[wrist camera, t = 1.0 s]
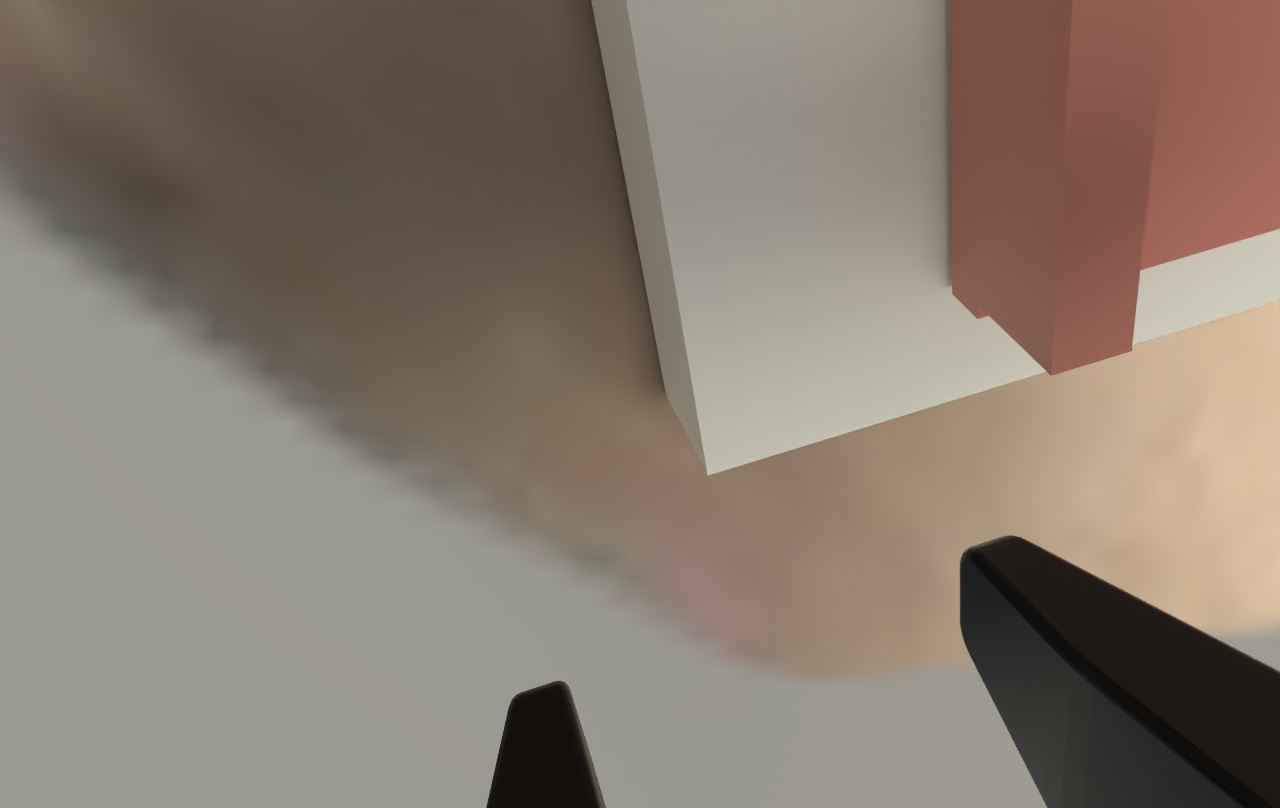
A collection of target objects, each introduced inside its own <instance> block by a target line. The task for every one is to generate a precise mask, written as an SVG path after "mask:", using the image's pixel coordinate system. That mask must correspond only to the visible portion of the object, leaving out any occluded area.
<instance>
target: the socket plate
mask: <svg viewBox="0 0 1280 808" xmlns="http://www.w3.org/2000/svg"><path fill="white" fill-rule="evenodd" d="M591 2H592V8H593V13H594V18H595V23H596V29H597V34H598V39H599V45H600V50H601V55H602V60H603V66H604V71H605V76H606V81H607V87H608V92H609V97H610V103H611V108H612V113H613V118H614V124H615V129H616V134H617V139H618V145H619V150H620V155H621V160H622V166H623V171H624V176H625V182H626V187H627V192H628V197H629V203H630V208H631V213H632V218H633V224H634V229H635V234H636V240H637V245H638V250H639V255H640V261H641V266H642V271H643V276H644V282H645V287H646V292H647V298H648V303H649V308H650V313H651V319H652V324H653V329H654V334H655V340H656V345H657V350H658V355H659V361H660V366H661V371H662V377H663V382H664V387H665V392H666V395H667V397H668V399H669V401H670V403H671V405H672V407H673V409H674V411H675V413H676V415H677V417H678V419H679V421H680V422H681V424H682V426H683V428H684V430H685V432H686V434H687V436H688V438H689V440H690V442H691V444H692V446H693V448H694V450H695V452H696V454H697V456H698V457H699V459H700V461H701V463H702V465H703V467H704V469H705V471H706V473H707V475H711V474H715V473H718V472H721V471H724V470H728V469H731V468H734V467H737V466H741V465H744V464H747V463H750V462H754V461H757V460H760V459H764V458H767V457H770V456H773V455H777V454H780V453H783V452H786V451H790V450H793V449H796V448H799V447H803V446H806V445H809V444H812V443H816V442H819V441H822V440H825V439H829V438H832V437H835V436H838V435H842V434H845V433H848V432H851V431H855V430H858V429H861V428H864V427H868V426H871V425H874V424H878V423H881V422H884V421H887V420H891V419H894V418H897V417H900V416H904V415H907V414H910V413H913V412H917V411H920V410H923V409H926V408H930V407H933V406H936V405H939V404H943V403H946V402H949V401H952V400H956V399H959V398H962V397H965V396H969V395H972V394H975V393H979V392H982V391H985V390H988V389H992V388H995V387H998V386H1001V385H1005V384H1008V383H1011V382H1014V381H1018V380H1021V379H1024V378H1027V377H1031V376H1034V375H1037V374H1040V373H1044V372H1047V371H1046V370H1045V369H1044V368H1043V367H1041V366H1040V365H1039V364H1038V363H1037V362H1036V361H1035V360H1034V359H1033V358H1032V357H1031V356H1030V355H1029V354H1028V353H1027V352H1026V351H1025V350H1024V349H1023V348H1022V347H1021V346H1020V345H1019V344H1018V343H1017V342H1016V341H1014V340H1013V339H1012V338H1011V337H1010V336H1009V335H1008V334H1007V333H1006V332H1005V331H1004V330H1003V329H1002V328H1001V327H1000V326H999V325H998V324H997V323H996V322H995V321H994V320H993V319H992V318H991V317H990V316H986V317H983V318H980V319H977V318H976V317H975V316H974V315H973V314H972V313H971V312H970V311H969V310H968V309H967V308H966V307H965V306H964V305H963V304H962V303H961V302H960V301H959V300H958V299H957V298H956V297H955V296H954V295H952V163H951V0H591ZM1278 300H1280V229H1277V230H1274V231H1271V232H1267V233H1264V234H1261V235H1257V236H1254V237H1251V238H1247V239H1244V240H1241V241H1237V242H1234V243H1231V244H1227V245H1224V246H1221V247H1217V248H1214V249H1211V250H1207V251H1204V252H1200V253H1197V254H1194V255H1190V256H1187V257H1184V258H1180V259H1177V260H1174V261H1170V262H1167V263H1164V264H1160V265H1157V266H1154V267H1150V268H1147V269H1144V270H1140V278H1139V288H1138V297H1137V306H1136V316H1135V325H1134V334H1133V344H1132V345H1135V344H1138V343H1141V342H1145V341H1148V340H1151V339H1154V338H1158V337H1161V336H1164V335H1167V334H1171V333H1174V332H1177V331H1180V330H1184V329H1187V328H1190V327H1194V326H1197V325H1200V324H1203V323H1207V322H1210V321H1213V320H1216V319H1220V318H1223V317H1226V316H1229V315H1233V314H1236V313H1239V312H1242V311H1246V310H1249V309H1252V308H1255V307H1259V306H1262V305H1265V304H1268V303H1272V302H1275V301H1278Z"/></svg>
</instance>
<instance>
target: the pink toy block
mask: <svg viewBox="0 0 1280 808" xmlns="http://www.w3.org/2000/svg"><path fill="white" fill-rule="evenodd" d="M951 163H952V295H954V296H955V297H956V298H957V299H958V300H959V301H960V302H961V303H962V304H963V305H964V306H965V307H966V308H967V309H968V310H969V311H970V312H971V313H972V314H973V315H974V316H975V317H976V318H977V319H980V318H983V317H986V316H990V317H991V318H992V319H993V320H994V321H995V322H996V323H997V324H998V325H999V326H1000V327H1001V328H1002V329H1003V330H1004V331H1005V332H1006V333H1007V334H1008V335H1009V336H1010V337H1011V338H1012V339H1013V340H1014V341H1016V342H1017V343H1018V344H1019V345H1020V346H1021V347H1022V348H1023V349H1024V350H1025V351H1026V352H1027V353H1028V354H1029V355H1030V356H1031V357H1032V358H1033V359H1034V360H1035V361H1036V362H1037V363H1038V364H1039V365H1040V366H1041V367H1043V368H1044V369H1045V370H1046V371H1047V372H1048V373H1049V374H1050V375H1055V374H1058V373H1061V372H1065V371H1068V370H1071V369H1074V368H1078V367H1081V366H1084V365H1087V364H1091V363H1094V362H1097V361H1100V360H1104V359H1107V358H1110V357H1113V356H1117V355H1120V354H1123V353H1126V352H1130V351H1132V344H1133V334H1134V325H1135V316H1136V306H1137V297H1138V288H1139V278H1140V270H1144V269H1147V268H1150V267H1154V266H1157V265H1160V264H1164V263H1167V262H1170V261H1174V260H1177V259H1180V258H1184V257H1187V256H1190V255H1194V254H1197V253H1200V252H1204V251H1207V250H1211V249H1214V248H1217V247H1221V246H1224V245H1227V244H1231V243H1234V242H1237V241H1241V240H1244V239H1247V238H1251V237H1254V236H1257V235H1261V234H1264V233H1267V232H1271V231H1274V230H1277V229H1280V0H951Z"/></svg>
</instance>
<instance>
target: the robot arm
mask: <svg viewBox="0 0 1280 808" xmlns="http://www.w3.org/2000/svg"><path fill="white" fill-rule="evenodd" d="M960 626H961V631H962V635H963V639H964V642H965V645H966V647H967V650H968V652H969V654H970V656H971V658H972V660H973V662H974V664H975V666H976V668H977V670H978V672H979V674H980V676H981V678H982V680H983V682H984V684H985V686H986V688H987V690H988V692H989V694H990V696H991V698H992V700H993V702H994V704H995V705H996V707H997V709H998V711H999V713H1000V715H1001V717H1002V719H1003V721H1004V723H1005V725H1006V727H1007V729H1008V731H1009V733H1010V735H1011V737H1012V739H1013V741H1014V743H1015V745H1016V747H1017V749H1018V751H1019V753H1020V755H1021V757H1022V759H1023V761H1024V763H1025V765H1026V767H1027V769H1028V771H1029V772H1030V774H1031V776H1032V778H1033V780H1034V782H1035V784H1036V786H1037V788H1038V790H1039V792H1040V794H1041V796H1042V798H1043V800H1044V802H1045V804H1046V806H1047V808H1280V671H1278V670H1276V669H1274V668H1272V667H1270V666H1268V665H1266V664H1265V663H1263V662H1261V661H1259V660H1257V659H1255V658H1253V657H1251V656H1249V655H1247V654H1245V653H1243V652H1241V651H1239V650H1237V649H1236V648H1234V647H1232V646H1230V645H1228V644H1226V643H1224V642H1222V641H1220V640H1218V639H1216V638H1214V637H1212V636H1211V635H1209V634H1207V633H1205V632H1203V631H1201V630H1199V629H1197V628H1195V627H1193V626H1191V625H1189V624H1187V623H1185V622H1184V621H1182V620H1180V619H1178V618H1176V617H1174V616H1172V615H1170V614H1168V613H1166V612H1164V611H1162V610H1160V609H1158V608H1157V607H1155V606H1153V605H1151V604H1149V603H1147V602H1145V601H1143V600H1141V599H1139V598H1137V597H1135V596H1133V595H1131V594H1130V593H1128V592H1126V591H1124V590H1122V589H1120V588H1118V587H1116V586H1114V585H1112V584H1110V583H1108V582H1106V581H1104V580H1103V579H1101V578H1099V577H1097V576H1095V575H1093V574H1091V573H1089V572H1087V571H1085V570H1083V569H1081V568H1079V567H1077V566H1075V565H1074V564H1072V563H1070V562H1068V561H1066V560H1064V559H1062V558H1060V557H1058V556H1056V555H1054V554H1052V553H1050V552H1048V551H1047V550H1045V549H1043V548H1041V547H1039V546H1037V545H1035V544H1033V543H1031V542H1029V541H1027V540H1025V539H1023V538H1021V537H1017V536H1004V537H1000V538H997V539H994V540H991V541H988V542H985V543H982V544H979V545H976V546H972V547H970V548H968V549H966V550H965V551H964V553H963V555H962V557H961V561H960ZM486 808H606V807H605V803H604V800H603V796H602V793H601V790H600V786H599V783H598V779H597V776H596V772H595V769H594V766H593V762H592V759H591V755H590V752H589V749H588V746H587V742H586V739H585V736H584V733H583V730H582V726H581V723H580V720H579V717H578V714H577V710H576V707H575V704H574V701H573V698H572V695H571V691H570V689H569V686H568V685H567V684H566V683H565V682H562V681H555V682H552V683H549V684H546V685H543V686H540V687H537V688H533V689H530V690H527V691H524V692H521V693H519V694H517V695H516V696H515V697H514V698H513V699H512V701H511V703H510V706H509V710H508V713H507V718H506V722H505V727H504V731H503V736H502V740H501V745H500V749H499V754H498V758H497V762H496V767H495V772H494V776H493V780H492V785H491V790H490V794H489V798H488V803H487V807H486Z"/></svg>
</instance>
